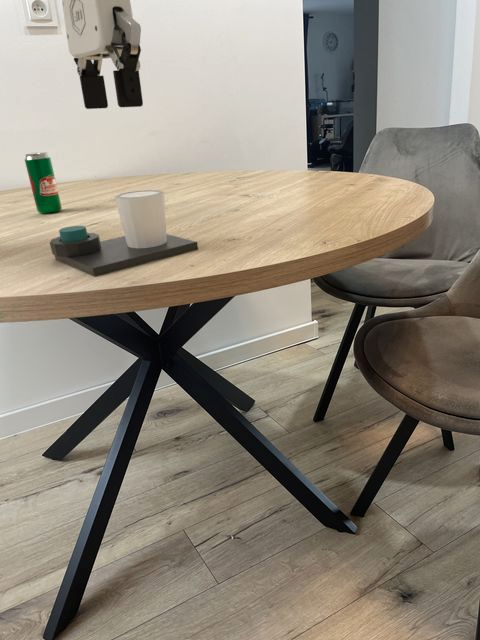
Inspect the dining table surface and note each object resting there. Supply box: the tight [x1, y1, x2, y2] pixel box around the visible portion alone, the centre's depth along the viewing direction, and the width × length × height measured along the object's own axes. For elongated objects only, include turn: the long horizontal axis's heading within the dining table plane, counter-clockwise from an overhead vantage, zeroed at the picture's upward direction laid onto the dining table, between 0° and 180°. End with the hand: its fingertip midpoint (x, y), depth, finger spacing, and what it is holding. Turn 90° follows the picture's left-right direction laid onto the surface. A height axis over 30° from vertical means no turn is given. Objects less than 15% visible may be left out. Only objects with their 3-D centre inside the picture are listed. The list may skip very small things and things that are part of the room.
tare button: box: [58, 225, 88, 242], centre depth 72 cm, size 4×4×2 cm
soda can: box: [24, 151, 63, 215], centre depth 108 cm, size 5×5×12 cm
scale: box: [49, 232, 199, 278], centre depth 73 cm, size 17×14×3 cm
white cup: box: [113, 189, 167, 248], centre depth 73 cm, size 7×7×7 cm
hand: (113, 107), depth 67 cm, fingers open, 9 cm apart
